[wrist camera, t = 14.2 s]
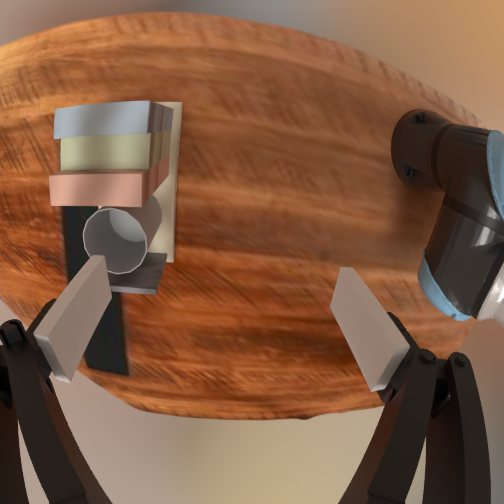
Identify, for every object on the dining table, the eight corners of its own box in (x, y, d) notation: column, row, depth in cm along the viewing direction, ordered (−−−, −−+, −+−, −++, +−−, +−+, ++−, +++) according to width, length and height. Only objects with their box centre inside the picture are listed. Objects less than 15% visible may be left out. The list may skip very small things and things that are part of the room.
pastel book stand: (183, 103, 34) (159, 88, 19) (175, 256, 44) (158, 325, 29) (105, 105, 32) (43, 100, 17) (107, 252, 42) (66, 314, 27)
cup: (101, 200, 36) (72, 224, 27) (147, 178, 36) (126, 196, 27) (125, 248, 40) (105, 282, 31) (170, 229, 40) (158, 261, 31)
